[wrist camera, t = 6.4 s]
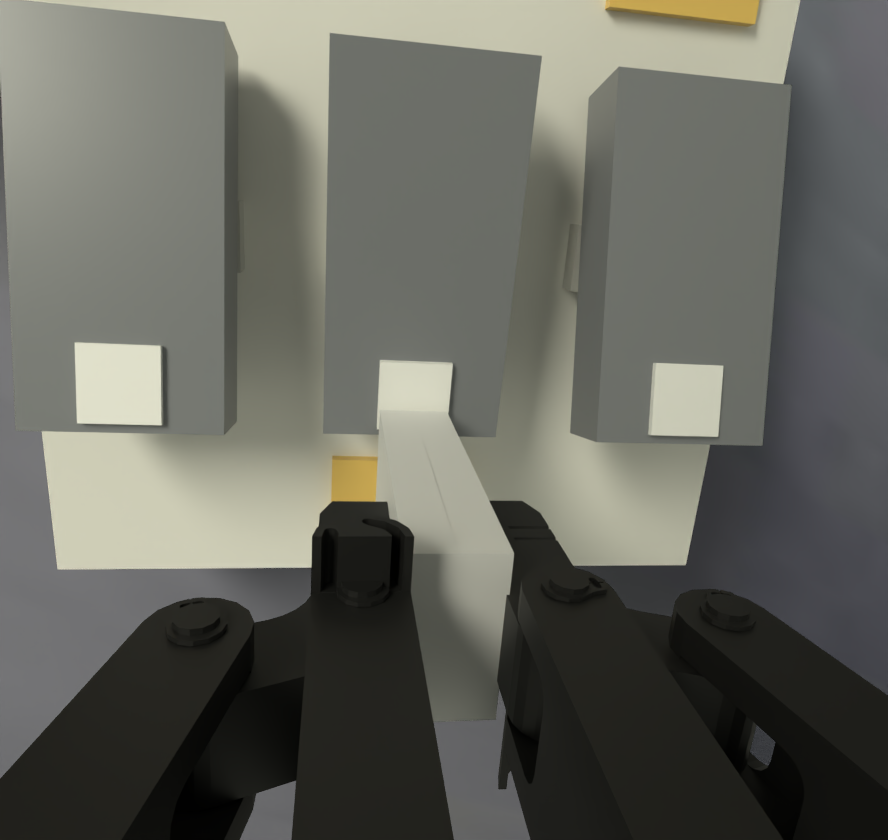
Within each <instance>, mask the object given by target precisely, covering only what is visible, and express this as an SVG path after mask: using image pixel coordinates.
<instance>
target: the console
mask: <svg viewBox="0 0 888 840" xmlns="http://www.w3.org/2000/svg"><path fill="white" fill-rule="evenodd" d="M28 1H37V2H46V3H56V4H65V5H74V6H83V7H93V8H102V9H111V10H120V11H130V12H139V13H148V14H157V15H167V16H176V17H185V18H194V19H204V20H213V21H222V22H225V24H226V26H227V29H228V31H229V34H230V36H231V39H232V41H233V44H234V46H235V49H236V51H237V54H238V262H237V422H236V423H235V424H234V425H233V426H232V427H231V428H230V429H229V431H228V432H227V433H226V434H225V435H195V434H147V433H100V432H53V431H42V437H43V445H44V454H45V463H46V472H47V480H48V489H49V498H50V507H51V515H52V524H53V533H54V542H55V550H56V559H57V568H58V569H182V568H311V567H312V535H313V534H314V532H315V530H316V528H317V527H318V526H319V516H320V513H321V512H322V511H323V510H324V509H325V508H326V507H327V506H328V505H329V504H330V503H331V502H332V501H374V502H376V483H377V461H378V439H379V435H366V434H323V407H324V346H325V286H326V226H327V165H328V105H329V44H330V33H336V34H345V35H354V36H363V37H373V38H382V39H391V40H400V41H410V42H419V43H428V44H437V45H447V46H456V47H465V48H474V49H484V50H493V51H502V52H511V53H521V54H530V55H539V56H542V61H541V69H540V77H539V85H538V93H537V102H536V110H535V118H534V126H533V135H532V143H531V151H530V159H529V167H528V176H527V184H526V192H525V200H524V208H523V217H522V225H521V233H520V241H519V249H518V258H517V266H516V274H515V282H514V290H513V299H512V307H511V315H510V323H509V332H508V340H507V348H506V356H505V364H504V373H503V381H502V389H501V397H500V405H499V414H498V422H497V430H496V437H459V438H460V440H461V443H462V445H463V447H464V449H465V451H466V453H467V455H468V457H469V459H470V461H471V464H472V466H473V468H474V470H475V472H476V474H477V476H478V478H479V480H480V482H481V485H482V487H483V489H484V491H485V493H486V495H487V497H488V499H489V500H490V501H523V502H525V503H526V504H528V505H529V506H531V507H532V508H534V509H535V510H537V511H538V512H540V513H541V515H542V516H543V518H544V519H545V521H546V523H547V524H548V526H549V529H551V531H552V532H553V534H554V536H555V537H556V540H558V542H559V544H560V545H561V547H562V549H563V550H564V552H565V553H566V555H567V557H568V558H569V560H570V561H571V563H572V565H573V566H625V565H686V562H687V557H688V552H689V547H690V542H691V537H692V532H693V527H694V522H695V517H696V512H697V507H698V503H699V498H700V493H701V488H702V483H703V478H704V473H705V468H706V463H707V458H708V453H709V448H710V445H702V444H655V443H608V442H594V441H591V440H589V439H586V438H583V437H580V436H577V435H574V434H571V433H570V424H571V406H572V388H573V370H574V352H575V334H576V316H577V298H578V280H579V262H580V244H581V226H582V208H583V190H584V173H585V155H586V137H587V119H588V101H589V97H590V96H591V95H592V94H593V92H594V91H595V90H596V89H597V88H598V87H599V86H600V85H601V84H602V83H603V82H604V81H605V80H606V79H607V78H608V77H609V76H610V75H611V74H612V73H613V72H614V71H615V70H616V69H617V68H618V67H619V66H620V67H629V68H638V69H647V70H657V71H666V72H675V73H685V74H694V75H703V76H712V77H722V78H731V79H740V80H750V81H759V82H768V83H778V84H783V83H784V78H785V73H786V68H787V63H788V58H789V54H790V49H791V44H792V39H793V34H794V29H795V24H796V19H797V14H798V9H799V4H800V0H28Z"/></svg>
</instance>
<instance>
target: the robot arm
mask: <svg viewBox="0 0 888 840" xmlns="http://www.w3.org/2000/svg"><path fill="white" fill-rule="evenodd" d="M499 689H500V692H501V695H502V698H503V702H504V705H505V708H506V715H505V724H504V732H503V741H502V749H501V758H500V766H499V775H498V789H506V787H507V779H508V773H509V772H510V771H511V773H512V776H513V780H514V783H515V787H516V790H517V794H518V797H519V801H520V804H521V808H522V811H523V815H524V818H525V822H526V825H527V829H528V832H529V836H530V839H531V840H888V695H886V694H885V693H883V692H882V691H881V690H879V689H878V688H876V687H875V686H873V685H872V684H871V683H869V682H868V681H866V680H865V679H863V678H862V677H861V676H859V675H858V674H856V673H855V672H853V671H852V670H851V669H849V668H848V667H846V666H845V665H844V664H842V663H841V662H839V661H838V660H836V659H835V658H834V657H832V656H831V655H829V654H828V653H826V652H825V651H824V650H822V649H821V648H819V647H818V646H816V645H815V644H814V643H812V642H811V641H809V640H808V639H806V638H805V637H804V636H802V635H801V634H799V633H798V632H797V631H795V630H794V629H792V628H791V627H789V626H788V625H787V624H785V623H784V622H782V621H781V620H779V619H778V618H777V617H775V616H774V615H772V614H771V613H769V612H768V611H767V610H765V609H764V608H762V607H760V606H758V605H757V604H755V603H753V602H751V601H749V600H748V599H745V598H742V597H739V596H737V595H734V594H733V593H731V592H727V591H723V590H721V591H719V590H716V589H706V590H691V591H688V592H686V593H683V594H680V596H679V597H678V599H677V600H676V601H675V605H674V610H673V615H672V617H669V616H663V615H658V614H652V613H646V612H640V611H636V610H632V609H627V608H626V607H625V606H624V604H623V603H622V601H621V600H620V598H619V597H618V595H617V594H616V592H615V591H614V589H613V588H612V587H611V586H610V585H609V584H608V583H606V582H605V581H604V580H603V579H601V578H599V577H597V576H596V575H594V574H592V573H590V572H587V571H583V570H580V569H576V568H574V566H573V565H572V563H571V561H570V560H569V558H568V557H567V555H566V553H565V552H564V550H563V549H562V547H561V545H560V544H559V542H558V540H556V537H555V536H554V534H553V532H552V531H551V529H549V526H548V524H547V523H546V521H545V519H544V518H543V516H542V515H541V513H540V512H538V511H537V510H535V509H534V508H532V507H531V506H529V505H528V504H526V503H525V502H523V501H490V500H489V499H488V497H487V495H486V493H485V491H484V489H483V487H482V485H481V482H480V480H479V478H478V476H477V474H476V472H475V470H474V468H473V466H472V464H471V461H470V459H469V457H468V455H467V453H466V451H465V449H464V447H463V445H462V443H461V440H460V438H459V436H458V434H457V432H456V430H455V428H454V426H453V424H452V422H451V419H450V417H449V415H448V413H447V412H440V411H405V410H380V417H379V439H378V461H377V483H376V502H374V501H332V502H331V503H330V504H329V505H328V506H327V507H326V508H325V509H324V510H323V511H322V512H321V513H320V516H319V526H318V527H317V528H316V530H315V532H314V534H313V535H312V567H311V596H310V597H309V599H308V600H307V601H306V603H304V604H303V605H302V606H300V607H299V608H297V609H296V610H294V611H292V612H290V613H288V614H285V615H283V616H280V617H277V618H273V619H270V620H265V621H261V622H256V623H254V621H253V618H252V616H251V614H250V612H249V610H247V609H246V608H244V607H243V606H241V605H240V604H238V603H237V602H233V601H229V600H225V599H221V598H192V599H190V600H189V599H187V600H183V601H179V602H176V603H174V604H171V605H169V606H166V607H164V608H162V609H159V610H157V611H156V612H155V613H153V614H152V615H151V616H150V617H148V618H147V619H146V620H144V621H143V622H142V623H141V624H140V626H139V627H138V628H137V629H136V630H135V631H134V632H133V633H132V634H131V635H130V637H129V638H128V639H127V640H126V641H125V642H124V643H123V644H122V645H121V646H120V648H119V649H118V650H117V651H116V652H115V653H114V654H113V655H112V656H111V657H110V659H109V660H108V661H107V662H106V663H105V664H104V665H103V666H102V667H101V668H100V670H99V671H98V672H97V673H96V674H95V675H94V676H93V677H92V678H91V680H90V681H89V682H88V683H87V684H86V685H85V686H84V687H83V688H82V689H81V691H80V692H79V693H78V694H77V695H76V696H75V697H74V698H73V699H72V700H71V702H70V703H69V704H68V705H67V706H66V707H65V708H64V709H63V710H62V711H61V713H60V714H59V715H58V716H57V717H56V718H55V719H54V720H53V721H52V722H51V724H50V725H49V726H48V727H47V728H46V729H45V730H44V731H43V732H42V733H41V735H40V736H39V737H38V738H37V739H36V740H35V741H34V742H33V743H32V744H31V746H30V747H29V748H28V749H27V750H26V751H25V752H24V753H23V754H22V755H21V757H20V758H19V759H18V760H17V761H16V762H15V763H14V764H13V765H12V766H11V768H10V769H9V770H8V771H7V772H6V773H5V774H4V775H3V776H2V778H1V779H0V840H240V837H241V835H242V833H243V831H244V828H245V826H246V824H247V822H248V819H249V817H250V815H251V813H252V810H253V806H254V801H255V796H256V793H259V792H262V791H265V790H268V789H271V788H274V787H277V786H280V785H283V784H286V783H289V782H292V781H295V780H296V790H295V803H294V816H293V828H292V840H454V838H453V832H452V827H451V821H450V815H449V809H448V803H447V798H446V792H445V786H444V780H443V775H442V769H441V763H440V757H439V752H438V746H437V740H436V734H435V728H434V723H433V722H445V721H470V720H496V711H497V702H498V693H499ZM756 725H758V726H759V727H760V728H761V729H762V730H763V731H764V732H765V733H766V734H767V735H769V736H770V737H771V738H772V739H773V740H774V741H775V742H776V743H775V747H774V751H773V755H772V759H771V762H770V764H769V766H767V765H765V764H763V763H762V762H760V761H759V760H758V759H757V758H756V757H754V756H753V755H752V754H751V753H750V749H751V745H752V741H753V737H754V733H755V729H756Z"/></svg>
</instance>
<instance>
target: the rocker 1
mask: <svg viewBox="0 0 888 840" xmlns="http://www.w3.org/2000/svg"><path fill="white" fill-rule="evenodd" d="M0 81H1V105H2V128H3V151H4V174H5V197H6V220H7V244H8V267H9V290H10V313H11V336H12V359H13V383H14V406H15V429H16V431H53V432H100V433H147V434H195V435H225V434H226V433H227V432H228V431H229V429H230V428H231V427H232V426H233V425H234V424H235V423H236V422H237V262H238V54H237V51H236V49H235V46H234V44H233V41H232V39H231V36H230V34H229V31H228V29H227V26H226V24H225V22H222V21H213V20H204V19H194V18H185V17H176V16H167V15H157V14H148V13H139V12H130V11H120V10H111V9H102V8H93V7H83V6H74V5H65V4H56V3H46V2H37V1H28V0H0Z"/></svg>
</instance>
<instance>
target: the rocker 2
mask: <svg viewBox="0 0 888 840" xmlns="http://www.w3.org/2000/svg"><path fill="white" fill-rule="evenodd" d="M541 61H542V56H539V55H530V54H521V53H511V52H502V51H493V50H484V49H474V48H465V47H456V46H447V45H437V44H428V43H419V42H410V41H400V40H391V39H382V38H373V37H363V36H354V35H345V34H336V33H330V44H329V105H328V165H327V226H326V286H325V346H324V407H323V434H366V435H379V417H380V410H405V411H440V412H447V413H448V415H449V417H450V419H451V422H452V424H453V426H454V428H455V430H456V432H457V434H458V436H459V437H496V430H497V422H498V414H499V405H500V397H501V389H502V381H503V373H504V364H505V356H506V348H507V340H508V332H509V323H510V315H511V307H512V299H513V290H514V282H515V274H516V266H517V258H518V249H519V241H520V233H521V225H522V217H523V208H524V200H525V192H526V184H527V176H528V167H529V159H530V151H531V143H532V135H533V126H534V118H535V110H536V102H537V93H538V85H539V77H540V69H541Z"/></svg>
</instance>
